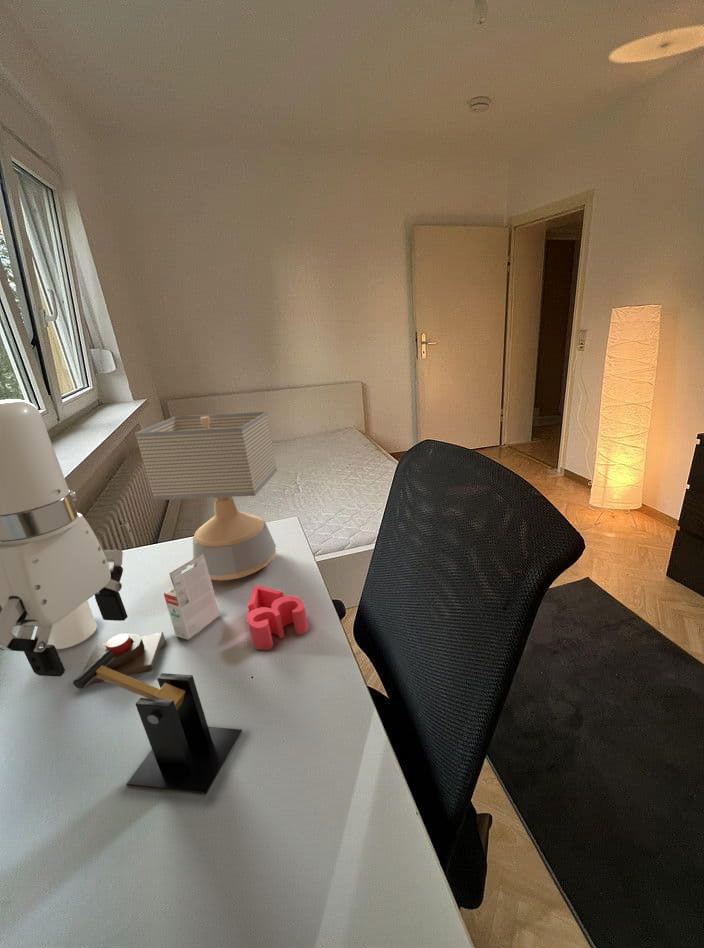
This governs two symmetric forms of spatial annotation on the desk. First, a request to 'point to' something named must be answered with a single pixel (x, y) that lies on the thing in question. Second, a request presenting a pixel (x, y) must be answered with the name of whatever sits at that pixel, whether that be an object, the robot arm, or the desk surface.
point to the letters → (273, 615)
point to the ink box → (191, 599)
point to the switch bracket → (181, 741)
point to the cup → (73, 627)
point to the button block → (132, 655)
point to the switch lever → (127, 681)
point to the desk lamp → (216, 482)
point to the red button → (119, 643)
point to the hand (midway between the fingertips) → (86, 644)
